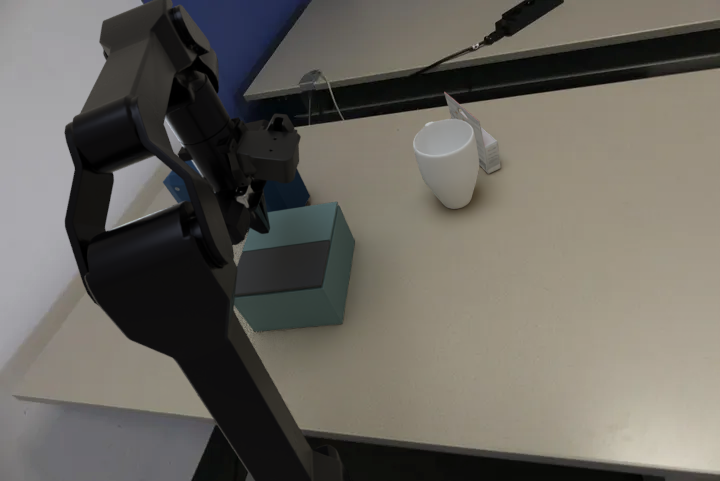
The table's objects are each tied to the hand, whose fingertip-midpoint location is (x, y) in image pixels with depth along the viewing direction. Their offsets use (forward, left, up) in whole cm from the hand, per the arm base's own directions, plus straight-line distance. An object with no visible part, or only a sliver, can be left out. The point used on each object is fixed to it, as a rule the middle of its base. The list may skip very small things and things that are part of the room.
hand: (266, 231), depth 65 cm
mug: (+17, -21, -13) cm, 30 cm away
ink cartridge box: (+25, -25, -13) cm, 38 cm away
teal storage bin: (+2, 0, -13) cm, 13 cm away
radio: (+19, +13, -13) cm, 27 cm away
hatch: (-2, 0, -5) cm, 5 cm away
